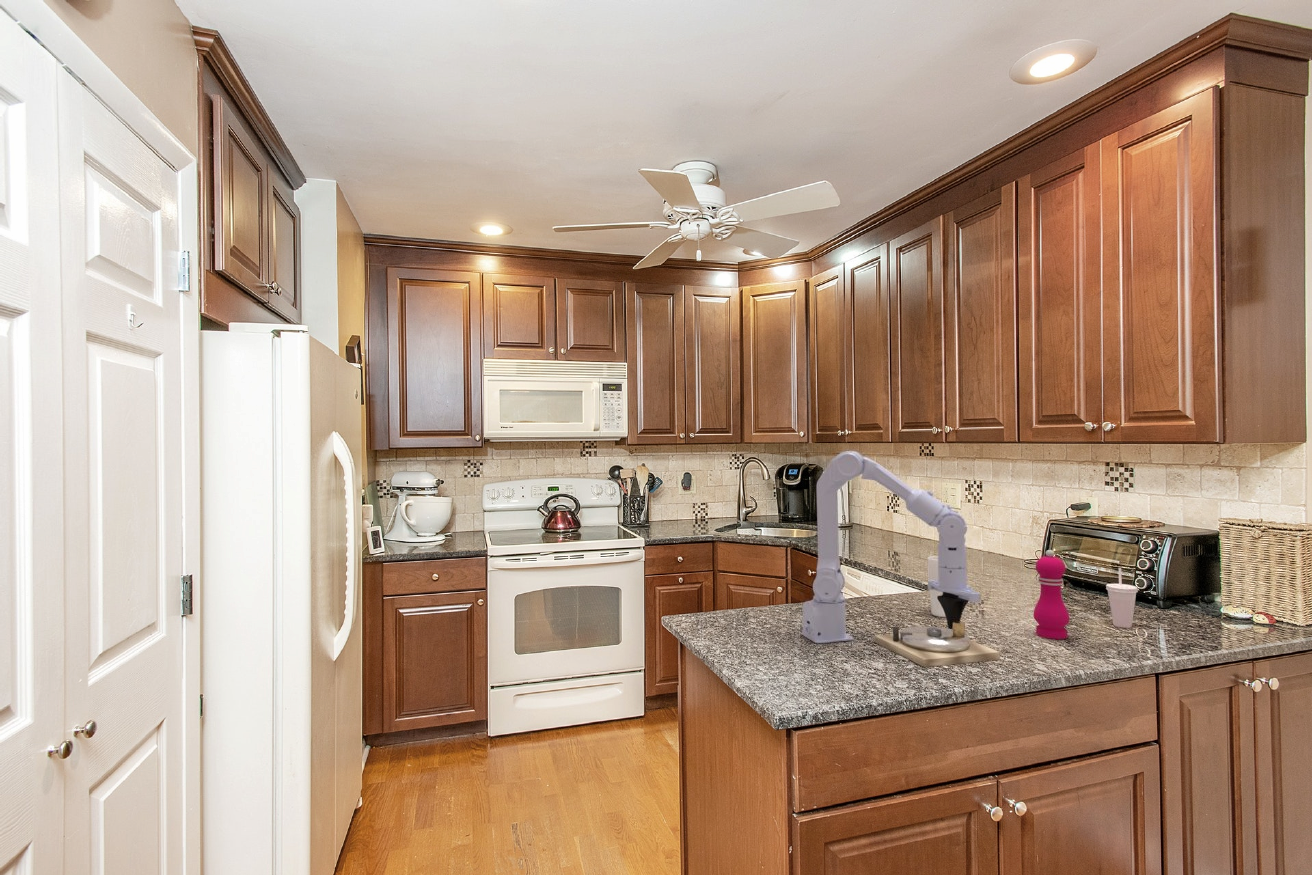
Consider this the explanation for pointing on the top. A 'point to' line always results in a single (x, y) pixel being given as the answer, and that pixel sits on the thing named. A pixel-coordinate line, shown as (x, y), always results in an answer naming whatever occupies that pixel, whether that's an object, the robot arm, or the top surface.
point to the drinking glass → (935, 604)
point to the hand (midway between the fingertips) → (953, 628)
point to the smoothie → (1122, 602)
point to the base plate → (933, 657)
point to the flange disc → (936, 638)
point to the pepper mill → (1051, 598)
